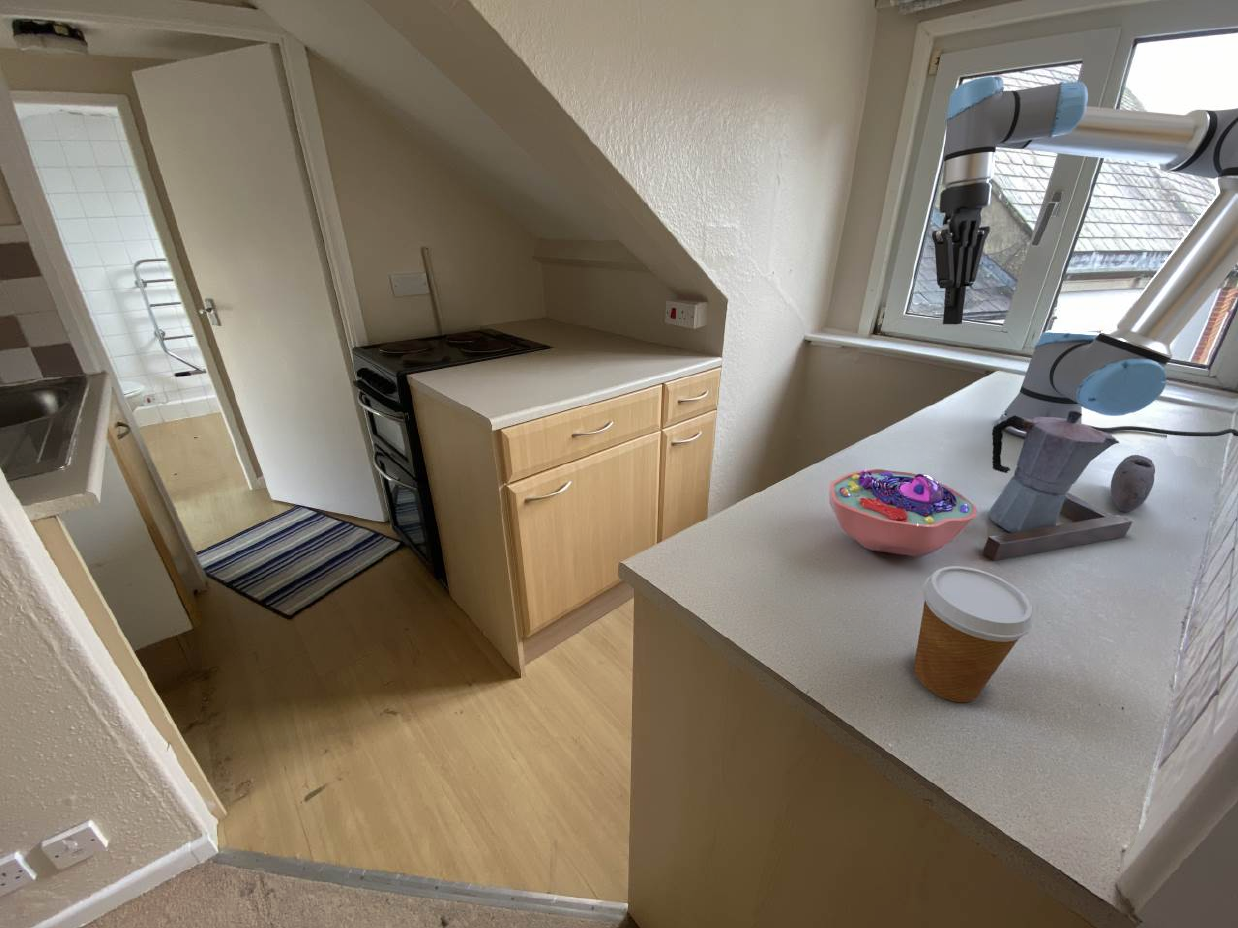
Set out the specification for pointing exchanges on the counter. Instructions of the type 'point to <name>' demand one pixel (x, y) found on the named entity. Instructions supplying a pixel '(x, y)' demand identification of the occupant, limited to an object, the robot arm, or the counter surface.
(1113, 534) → the corner guide
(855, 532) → the cell model
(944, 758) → the counter surface
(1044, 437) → the moka pot
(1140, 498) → the perforated stone tool
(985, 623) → the disposable coffee cup
